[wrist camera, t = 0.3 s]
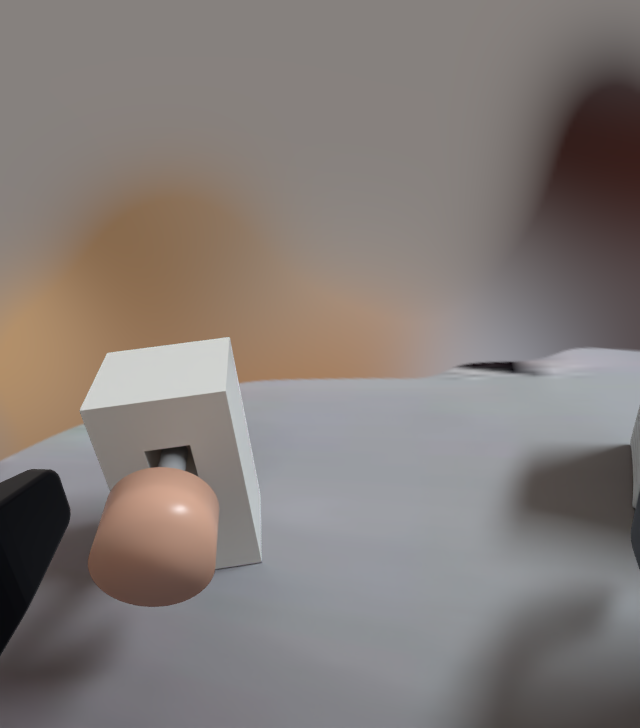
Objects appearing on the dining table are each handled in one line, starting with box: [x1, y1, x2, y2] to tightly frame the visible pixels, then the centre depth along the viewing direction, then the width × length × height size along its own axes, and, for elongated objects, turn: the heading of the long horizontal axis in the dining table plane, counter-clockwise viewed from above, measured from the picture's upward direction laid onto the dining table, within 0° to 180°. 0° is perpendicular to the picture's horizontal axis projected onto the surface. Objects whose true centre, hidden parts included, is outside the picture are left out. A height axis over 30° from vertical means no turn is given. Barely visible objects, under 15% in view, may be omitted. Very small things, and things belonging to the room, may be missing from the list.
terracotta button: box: [88, 446, 219, 607], centre depth 22 cm, size 6×4×4 cm
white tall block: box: [80, 337, 262, 569], centre depth 27 cm, size 5×6×10 cm
